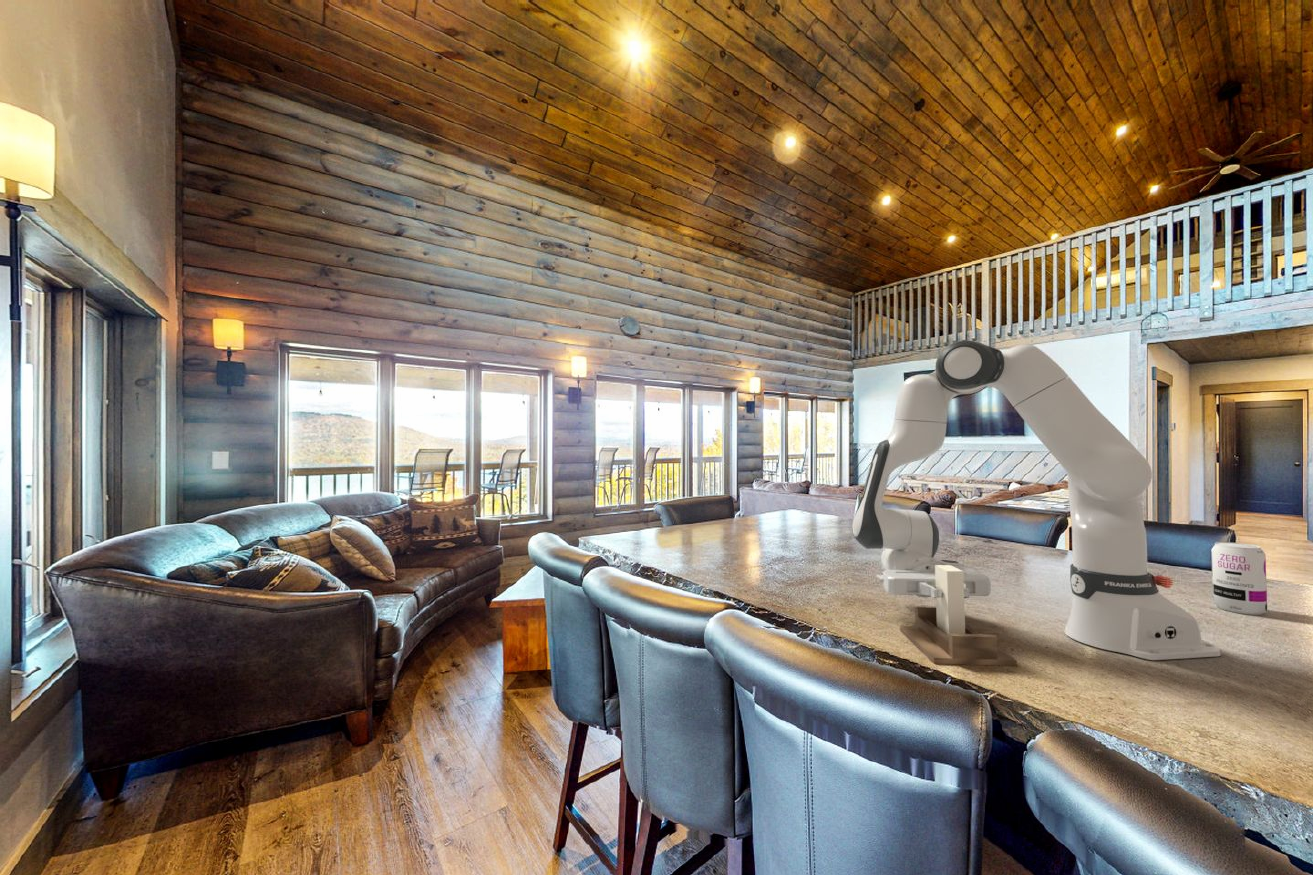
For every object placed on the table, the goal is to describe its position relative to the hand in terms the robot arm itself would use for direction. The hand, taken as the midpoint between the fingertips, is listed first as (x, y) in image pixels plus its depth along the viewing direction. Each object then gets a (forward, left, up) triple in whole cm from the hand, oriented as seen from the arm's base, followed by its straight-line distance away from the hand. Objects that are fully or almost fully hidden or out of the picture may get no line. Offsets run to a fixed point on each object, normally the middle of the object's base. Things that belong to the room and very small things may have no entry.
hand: (951, 594), depth 98 cm
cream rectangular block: (0, -1, -9) cm, 9 cm away
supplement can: (-75, -26, -10) cm, 80 cm away
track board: (0, 0, -10) cm, 10 cm away
